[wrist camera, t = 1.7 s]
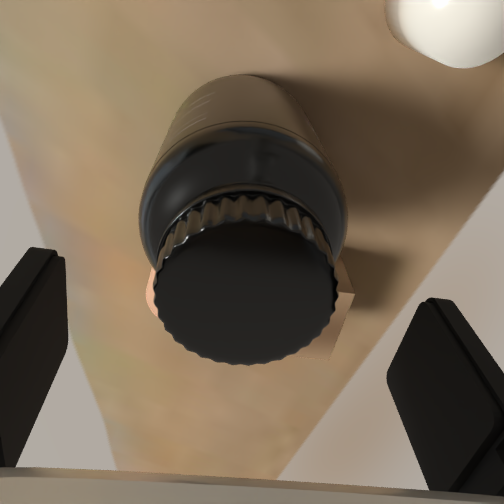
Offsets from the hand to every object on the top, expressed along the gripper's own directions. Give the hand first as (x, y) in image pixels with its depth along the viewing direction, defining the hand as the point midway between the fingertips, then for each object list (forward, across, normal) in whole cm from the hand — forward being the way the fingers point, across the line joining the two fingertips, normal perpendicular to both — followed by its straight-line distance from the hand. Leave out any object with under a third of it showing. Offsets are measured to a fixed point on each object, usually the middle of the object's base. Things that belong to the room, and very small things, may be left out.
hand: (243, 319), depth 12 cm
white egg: (+12, -7, -8) cm, 16 cm away
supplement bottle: (+12, 0, -1) cm, 12 cm away
